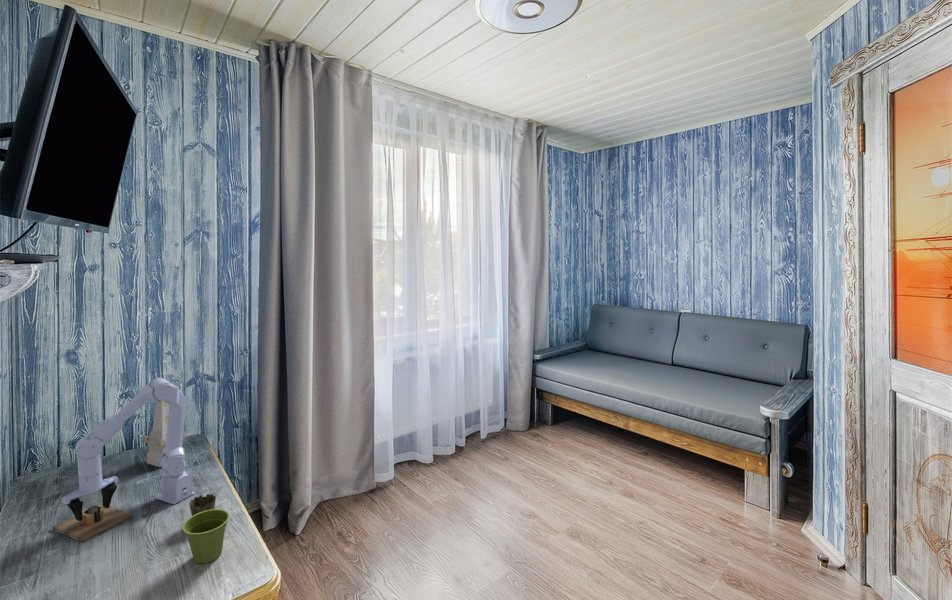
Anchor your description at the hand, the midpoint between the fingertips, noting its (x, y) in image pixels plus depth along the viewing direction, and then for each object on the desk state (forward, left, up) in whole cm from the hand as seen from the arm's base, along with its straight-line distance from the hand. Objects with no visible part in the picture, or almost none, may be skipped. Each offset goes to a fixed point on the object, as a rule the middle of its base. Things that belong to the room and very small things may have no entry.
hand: (93, 513), depth 143 cm
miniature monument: (+21, -38, -4) cm, 44 cm away
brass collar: (0, 0, -2) cm, 2 cm away
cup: (-32, -14, -4) cm, 35 cm away
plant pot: (-48, -3, -4) cm, 48 cm away
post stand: (0, 0, -3) cm, 3 cm away
